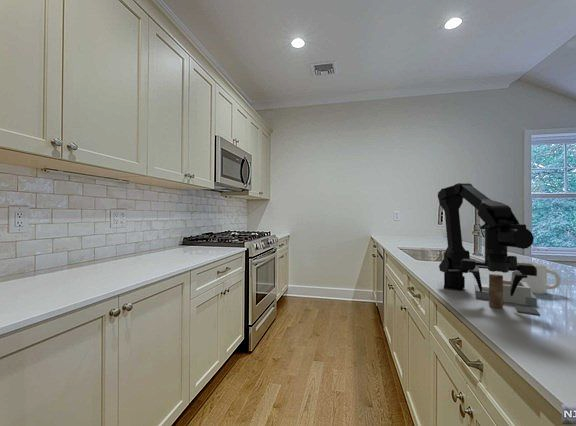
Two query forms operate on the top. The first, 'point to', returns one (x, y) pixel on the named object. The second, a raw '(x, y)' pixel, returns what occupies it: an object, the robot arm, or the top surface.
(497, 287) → the dowel
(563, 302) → the top surface
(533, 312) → the pad
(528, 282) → the mug
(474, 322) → the top surface
